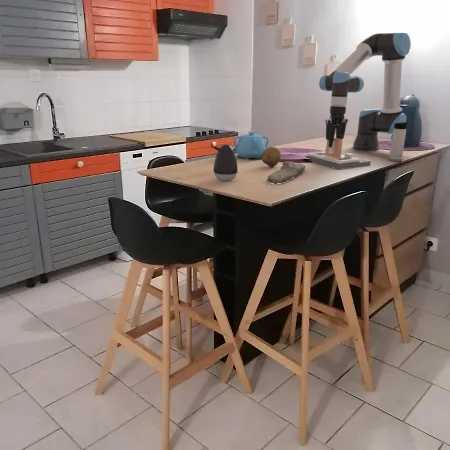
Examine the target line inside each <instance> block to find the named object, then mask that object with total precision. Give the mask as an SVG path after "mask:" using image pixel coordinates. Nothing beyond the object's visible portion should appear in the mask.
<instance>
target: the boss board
mask: <svg viewBox="0 0 450 450" xmlns="http://www.w3.org/2000/svg"><path fill="white" fill-rule="evenodd" d="M324 151H325V152H326V148H324ZM341 154H342V155H344V156H345V157H347V159H349V158H351V157H354V153H349V152H346V153H344V154H343V153H341ZM304 157H306V158H310V159H311V161H312V162H311V163H315V164H317V163H318V165H321V164H322V166H325V165H326V166H325V167H328V166H330V168H332V167H334V168H333V169H335V168H337V169H336V170H342V169H341V168H345V169H349V168H350V167H352V168H356V167H357V168H358V167H364V166H371V161H372V160H368V159H364V158H359V157H356V156H355V157H354V158H358V159H360V161H358V162H350V163H342V164H337V163H334V162H330V161H326V160H322V159H319V158H315V157H311V156H307V155H304V156H303V158H304Z"/></svg>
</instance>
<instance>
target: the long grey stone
mask: <svg viewBox="0 0 450 450" xmlns="http://www.w3.org/2000/svg"><path fill="white" fill-rule="evenodd" d="M281 165H282V166H281V167H280V169H279V170H276V171H275V172H273V173H271V174H269V175H268V176H267V179H266V182H268V181H269V182H270V183H274V184H277V183H282V184H284V183H286V181H287V182H289V181H288V180H290V179H291V180H293V179H294V178H293V177H296V178H297V176H300V175H301V174H302V173H303V172H304V171H305V170H306V165H305V164H303V163H299V162H294V161H287V160H286V161H283V162H282V164H281ZM299 174H300V175H299ZM292 178H293V179H292ZM291 180H290V181H291ZM269 182H268V183H269ZM283 182H284V183H283Z"/></svg>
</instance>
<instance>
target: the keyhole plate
mask: <svg viewBox="0 0 450 450" xmlns="http://www.w3.org/2000/svg"><path fill="white" fill-rule="evenodd" d="M333 141H335V143H334V152H333V154H329V140H327V139H326V148H325V149H326V152H325V150H324V151H316V152H315V151H314V152H307V153H306V156H311V157H315V158H319V159H322V160H326V161H330V162H334V163H337V164H342V163H350V162H358V161H360V159H361V158H360V159H358V158H359V157H356V158H354V156H353V157H351V158H349V159H347V157H345V156H344V155H345V154H343V153H342V148H343V139H339V138H336V136H334V140H333ZM342 154H343V155H342Z"/></svg>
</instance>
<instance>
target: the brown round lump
mask: <svg viewBox="0 0 450 450" xmlns="http://www.w3.org/2000/svg"><path fill="white" fill-rule="evenodd" d="M267 147H268V146H267ZM281 155H282V154H281V151H280V150H279V149H278V148H277V147H275V146H269V147H268V148H267V149H265V150H264V152H263V154H262V157H261V161H262V163H264V164H265V165H267V166H268V167H269V168H274V167H276V166H277V165H278V164H279V162H280V160H281Z"/></svg>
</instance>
